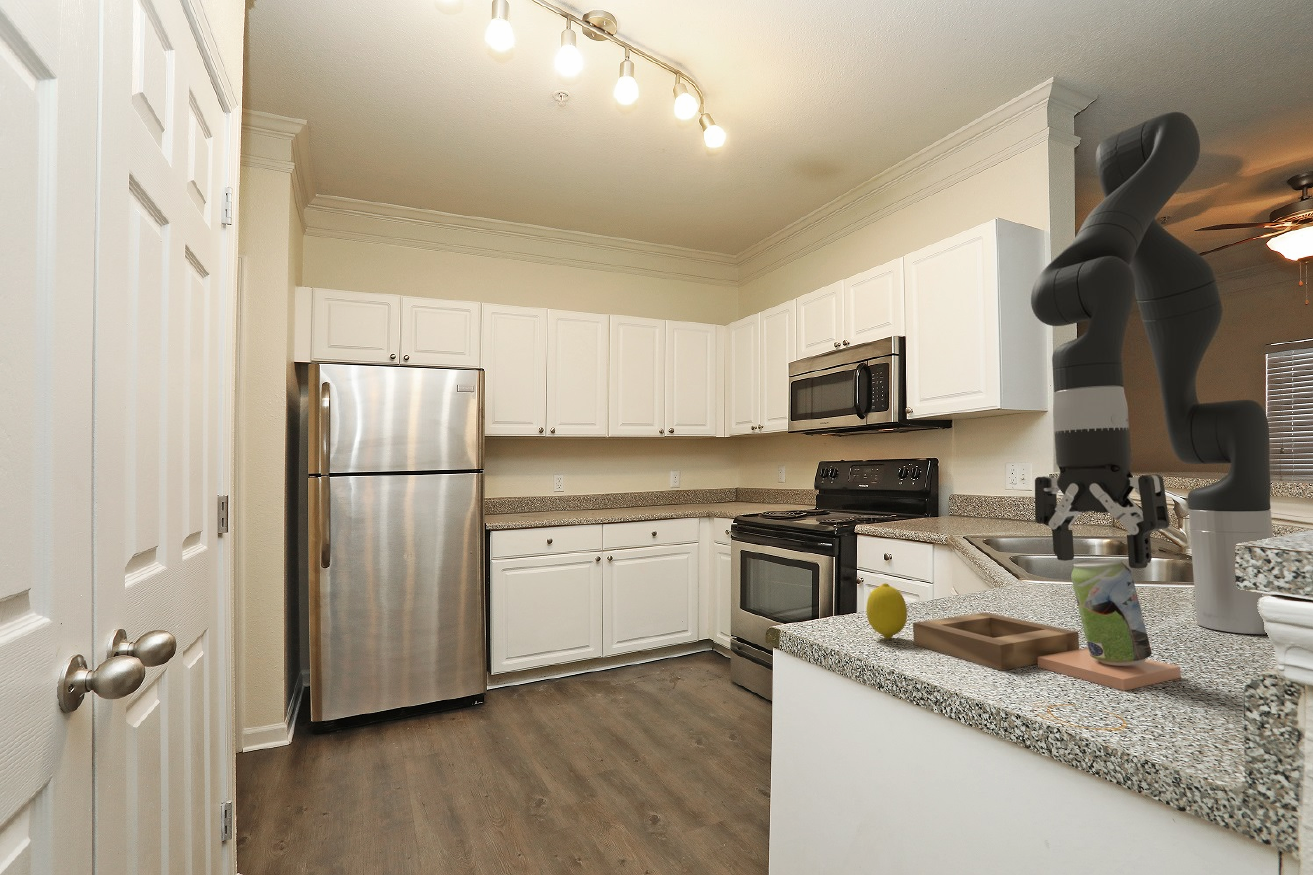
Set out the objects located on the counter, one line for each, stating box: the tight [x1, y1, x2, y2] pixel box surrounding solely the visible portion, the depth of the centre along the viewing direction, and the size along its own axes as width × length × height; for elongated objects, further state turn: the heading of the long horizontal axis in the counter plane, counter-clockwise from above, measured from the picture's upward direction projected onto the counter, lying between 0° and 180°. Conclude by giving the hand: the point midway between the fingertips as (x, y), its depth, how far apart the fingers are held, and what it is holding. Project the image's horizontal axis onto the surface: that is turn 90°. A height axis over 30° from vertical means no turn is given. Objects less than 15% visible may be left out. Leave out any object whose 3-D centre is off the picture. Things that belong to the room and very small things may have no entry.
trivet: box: [1037, 647, 1182, 692], centre depth 77 cm, size 10×10×1 cm
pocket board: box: [912, 612, 1080, 672], centre depth 88 cm, size 14×14×3 cm
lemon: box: [866, 582, 908, 640], centre depth 95 cm, size 6×6×8 cm
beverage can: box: [1070, 557, 1153, 666], centre depth 77 cm, size 6×7×12 cm
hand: (1100, 563), depth 78 cm, fingers open, 8 cm apart
